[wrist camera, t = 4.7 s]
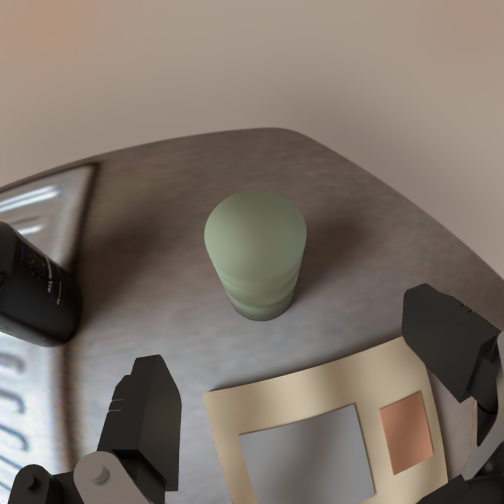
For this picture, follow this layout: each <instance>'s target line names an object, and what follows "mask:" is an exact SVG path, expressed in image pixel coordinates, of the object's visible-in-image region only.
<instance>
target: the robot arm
mask: <svg viewBox="0 0 504 504" xmlns="http://www.w3.org/2000/svg"><path fill="white" fill-rule="evenodd" d="M402 335H403V338H404V341H405V342H406V344H407V345H408V346H409V347H410V348H411V350H412V351H413V352H414V353H415V354H416V355H417V356H418V357H419V358H420V359H421V360H422V361H423V362H424V364H425V365H426V366H427V367H428V368H429V369H430V370H431V371H432V372H433V373H434V375H435V376H436V377H437V378H438V379H439V380H440V381H441V382H442V384H443V385H444V386H445V387H446V388H447V389H448V390H449V391H450V393H451V394H452V395H453V396H454V397H455V398H456V399H457V401H458V402H459V403H461V402H463V401H464V400H466V399H467V398H469V397H470V396H473V398H474V399H475V400H474V402H473V405H472V439H471V452H470V457H469V460H468V462H467V465H466V467H465V470H464V473H463V476H462V475H461V474H460V475H458V476H457V477H456V478H454V479H452V480H451V481H449V482H448V483H446V484H445V485H443V486H441V487H440V488H438V489H436V490H435V491H433V492H431V493H430V494H428V495H426V496H424V497H423V498H422V499H420V500H419V501H418V502H417V503H416V504H504V331H502V332H501V331H500V330H499V329H497V328H496V327H495V326H493V325H492V324H491V323H489V322H488V321H487V320H485V319H484V318H483V317H481V316H480V315H478V314H477V313H476V312H474V311H473V312H472V309H470V308H469V307H467V306H466V305H465V306H464V304H463V303H462V302H460V301H459V300H457V299H456V298H455V297H453V296H450V295H447V294H444V293H441V292H439V291H437V290H436V289H434V288H433V287H431V286H430V285H428V284H426V283H425V284H422V285H419V286H416V287H414V288H411V289H408V290H406V292H405V294H404V302H403V318H402ZM181 409H182V404H181V397H180V393H179V390H178V388H177V386H176V384H175V382H174V380H173V378H172V376H171V374H170V372H169V370H168V368H167V366H166V364H165V362H164V360H163V358H162V356H161V355H159V354H158V355H152V356H146V357H140V358H136V360H135V362H134V365H133V369H132V372H131V375H125V376H124V377H123V378H122V380H121V381H120V382H119V383H118V385H117V386H116V388H115V391H114V394H113V397H112V402H111V403H110V406H109V412H108V413H107V416H106V420H105V423H104V426H103V430H102V433H101V437H100V441H99V444H98V448H97V451H96V452H93V453H90V454H88V455H86V456H85V457H83V458H82V459H81V460H80V461H79V462H78V464H77V465H76V467H75V470H74V471H72V472H67V473H61V474H56V475H51V474H50V473H49V472H48V471H46V470H45V469H44V468H43V467H42V466H40V465H36V464H31V465H27V466H25V467H24V468H22V469H21V470H20V471H19V472H18V473H17V475H16V477H15V480H14V483H13V486H12V490H11V493H10V497H9V500H8V504H166V503H165V491H178V475H179V446H180V425H181Z"/></svg>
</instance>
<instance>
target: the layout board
mask: <svg viewBox="0 0 504 504" xmlns="http://www.w3.org/2000/svg"><path fill="white" fill-rule="evenodd" d="M203 398H204V402H205V406H206V410H207V415H208V419H209V423H210V427H211V431H212V435H213V439H214V442H215V446H216V450H217V454H218V457H219V461H220V464H221V468H222V471H223V475H224V478H225V481H226V485H227V488H228V491H229V494H230V498H231V501H232V504H416V503H417V502H418V501H419V500H420V499H422V498H423V497H424V496H426V495H428V494H430V493H431V492H433V491H435V490H436V489H438V488H440V487H441V486H443V485H445V484H446V483H448V479H447V470H446V462H445V455H444V449H443V442H442V437H441V431H440V426H439V421H438V416H437V411H436V407H435V402H434V398H433V394H432V389H431V385H430V382H429V378H428V374H427V370H426V367H425V364H424V362H423V361H422V360H421V359H420V358H419V357H418V356H417V355H416V354H415V353H414V352H413V351H412V350H411V348H410V347H409V346H408V345H407V344H406V342H405V341H404V338H403V336H401V337H399V338H396V339H394V340H391V341H389V342H386V343H384V344H381V345H378V346H376V347H373V348H370V349H368V350H365V351H362V352H359V353H357V354H354V355H351V356H348V357H345V358H342V359H339V360H336V361H333V362H329V363H326V364H323V365H320V366H316V367H313V368H310V369H306V370H303V371H299V372H295V373H292V374H288V375H284V376H280V377H276V378H272V379H268V380H264V381H260V382H256V383H251V384H247V385H242V386H237V387H232V388H227V389H222V390H217V391H211V392H205V393H203Z"/></svg>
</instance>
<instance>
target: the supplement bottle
mask: <svg viewBox="0 0 504 504" xmlns="http://www.w3.org/2000/svg"><path fill="white" fill-rule="evenodd" d="M80 312H81V294H80V289H79V286H78V284H77V282H76V280H75V279H74V277H73V276H72V275H71V274H70V273H69V272H67V271H66V270H65V269H64V268H62V267H61V266H60V265H58V264H57V263H56V262H55V261H53V260H52V259H51V258H49V257H48V256H47V255H46V254H44V253H43V252H42V251H41V250H39V249H38V248H37V247H36V246H34V245H33V244H32V243H31V242H29V241H28V240H27V239H26V238H25V237H24V236H22V235H21V234H20V233H19V232H18V231H17V230H15V229H14V228H13V227H12V226H10V225H9V224H7V223H5V222H1V221H0V332H3V333H5V334H8V335H11V336H13V337H16V338H18V339H21V340H24V341H27V342H30V343H32V344H36V345H39V346H42V347H55V346H58V345H60V344H61V343H63V342H64V341H66V340H67V339H68V338H69V336H70V335H71V334H72V332H73V331H74V329H75V327H76V325H77V323H78V320H79V317H80Z"/></svg>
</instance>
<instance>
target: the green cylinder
mask: <svg viewBox="0 0 504 504" xmlns="http://www.w3.org/2000/svg"><path fill="white" fill-rule="evenodd" d="M204 238H205V245H206V248H207V251H208V253H209V255H210V258H211V260H212V262H213V264H214V266H215V269H216V271H217V273H218V275H219V277H220V280H221V282H222V284H223V286H224V288H225V290H226V293H227V295H228V297H229V299H230V301H231V303H232V305H233V307H234V308H235V309H236V311H237V312H238V313H239V314H241V315H242V316H244V317H245V318H248V319H250V320H254V321H268V320H271V319H274V318H276V317H278V316H280V315H281V314H282V313H284V312H285V311H286V309H287V308H288V307H289V305H290V303H291V301H292V298H293V295H294V291H295V286H296V282H297V278H298V274H299V270H300V265H301V261H302V257H303V252H304V248H305V243H306V238H307V229H306V224H305V220H304V218H303V216H302V214H301V212H300V210H299V209H298V208H297V207H296V206H295V204H294V203H292V202H291V201H290V200H289V199H287V198H286V197H284V196H282V195H280V194H278V193H275V192H271V191H267V190H247V191H242V192H239V193H236V194H234V195H231V196H230V197H228V198H226V199H225V200H223V201H222V202H221V203H220V204H218V205H217V206H216V208H215V209H214V210H213V211H212V213H211V214H210V216H209V218H208V220H207V223H206V227H205V234H204Z"/></svg>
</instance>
